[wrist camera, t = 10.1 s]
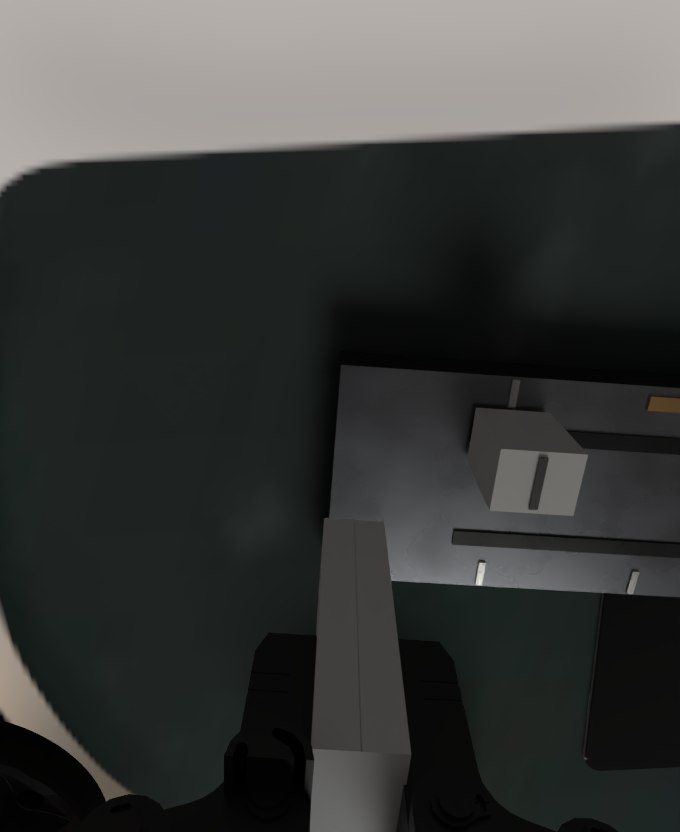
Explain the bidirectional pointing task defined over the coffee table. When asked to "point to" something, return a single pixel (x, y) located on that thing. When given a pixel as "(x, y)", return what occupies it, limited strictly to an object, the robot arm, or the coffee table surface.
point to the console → (461, 497)
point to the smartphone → (635, 685)
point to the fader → (525, 462)
